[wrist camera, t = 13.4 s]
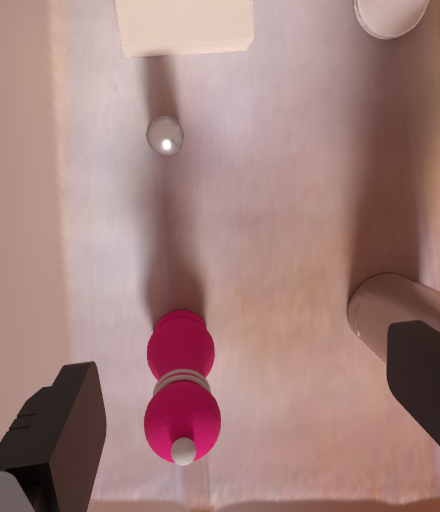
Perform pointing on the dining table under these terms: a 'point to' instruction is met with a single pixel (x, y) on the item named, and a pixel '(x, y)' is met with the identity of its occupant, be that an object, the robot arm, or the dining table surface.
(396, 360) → the robot arm
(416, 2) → the vase
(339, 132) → the dining table surface
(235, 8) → the socket block
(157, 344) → the pepper mill
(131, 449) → the dining table surface
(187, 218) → the dining table surface
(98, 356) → the dining table surface
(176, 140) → the short pin
